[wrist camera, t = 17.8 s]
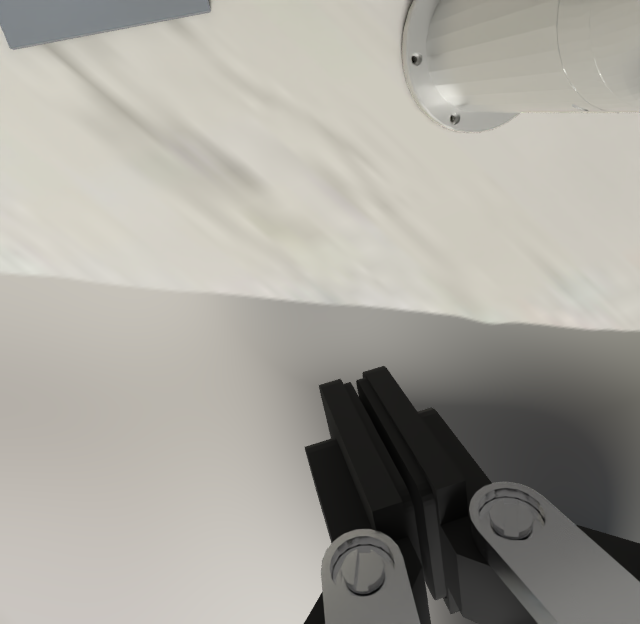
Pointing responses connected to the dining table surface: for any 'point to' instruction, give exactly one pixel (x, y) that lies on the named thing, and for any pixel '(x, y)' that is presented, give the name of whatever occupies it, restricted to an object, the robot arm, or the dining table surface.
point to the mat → (85, 17)
